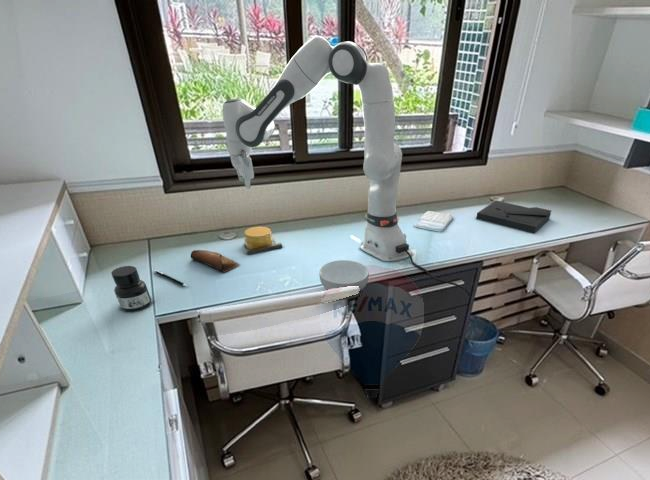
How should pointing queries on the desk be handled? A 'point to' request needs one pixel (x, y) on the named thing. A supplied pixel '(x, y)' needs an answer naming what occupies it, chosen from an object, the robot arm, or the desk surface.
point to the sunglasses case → (214, 259)
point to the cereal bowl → (344, 274)
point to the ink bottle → (130, 289)
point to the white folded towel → (434, 221)
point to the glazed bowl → (258, 237)
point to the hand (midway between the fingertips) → (244, 184)
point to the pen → (169, 278)
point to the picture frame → (514, 216)
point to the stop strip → (264, 248)
